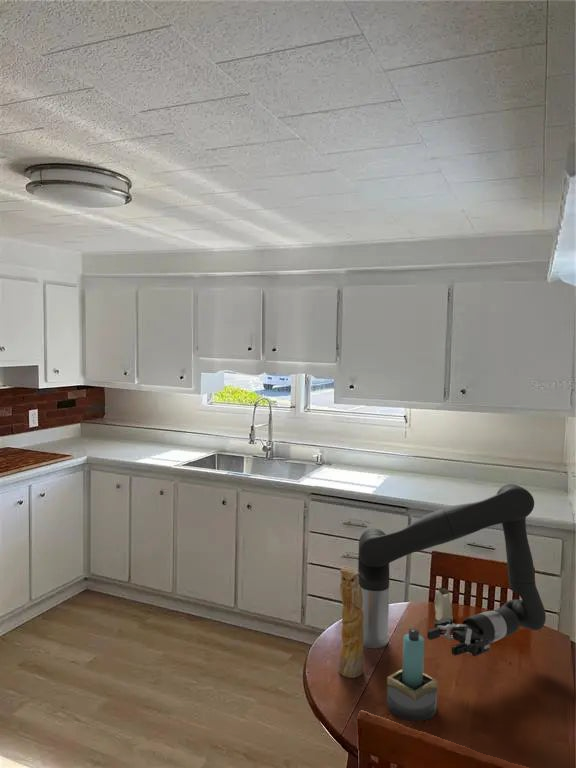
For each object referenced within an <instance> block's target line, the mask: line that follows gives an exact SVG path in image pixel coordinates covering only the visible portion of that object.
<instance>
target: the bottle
mask: <svg viewBox="0 0 576 768" xmlns="http://www.w3.org/2000/svg"><path fill="white" fill-rule="evenodd" d="M402 642H403V643H402V667H401V669H402V684H404V685H406V686H408V687H409V688H411V689H413V690H417V689H418V688H420V687H422V686H423V673H424V658H425V657H424V655H425V654H424V653H425V638H424V637H423V636H422V635H420V630H419V629H417V628H414V627H412V628H409V629H408V633H405V634H404V635H403V637H402Z"/></svg>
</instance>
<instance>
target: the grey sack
mask: <svg viewBox="0 0 576 768" xmlns="http://www.w3.org/2000/svg"><path fill="white" fill-rule="evenodd" d="M450 598H451V597H450V590H448V589H447V588H444V587H439V588H438V592H437V593H436V595H435V597H434V602H433V603H434V610H435V621H437V622H438V621H441V620H445V619H449V618H450V619H453V620H454V617H453V607H452V603H451V599H450Z"/></svg>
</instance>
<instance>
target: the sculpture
mask: <svg viewBox="0 0 576 768" xmlns="http://www.w3.org/2000/svg"><path fill="white" fill-rule="evenodd" d="M339 573H340V574H341V575H340V584H339V588H340V589H339V590H340V597H341V603H342V606H343V607H342V609H341V610H342V611H341V615H342V616H341V617H342V618H341V623H342V627H341V640H342V641H341V644H342V645H341V650H340V657H339V662H338V673H340V675H342V676H343V677H346V678H352V679H353V678H358V677H360V676H361V675H363V674H364V646H363V618H364V613H363V611H362V610H361V609H362V604H363V597H362V590H361V587H360V585H359V577H358V575H359V574H360V573H359V572H358V570H355V569H351V568H344V569H343V568H342V569H341V568H340V569H339Z"/></svg>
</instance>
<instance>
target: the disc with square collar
mask: <svg viewBox="0 0 576 768" xmlns="http://www.w3.org/2000/svg"><path fill="white" fill-rule="evenodd" d="M437 699H438V680H437V679H436V678H434V677H433V676H430V675H429V674H427V673H424V672H423V686H422V687H420V688H418V689H417V690H413V689H411V688H409V687H408V686H406V685H404V684H402V668H401V669H399V670H397V671H396V672H394V673H392V674H390V675H388V676H387V677H386V706H387V708H388V710H389V711H390V712H391V713H392V714H394V715H396V716H397V717H399V718H401V719H404V720H408V721H412V722H413V721H414V722H422V721H427V720H430V719H431V718H432V717H434V716H435V715H436V713H437V702H438V701H437Z"/></svg>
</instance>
